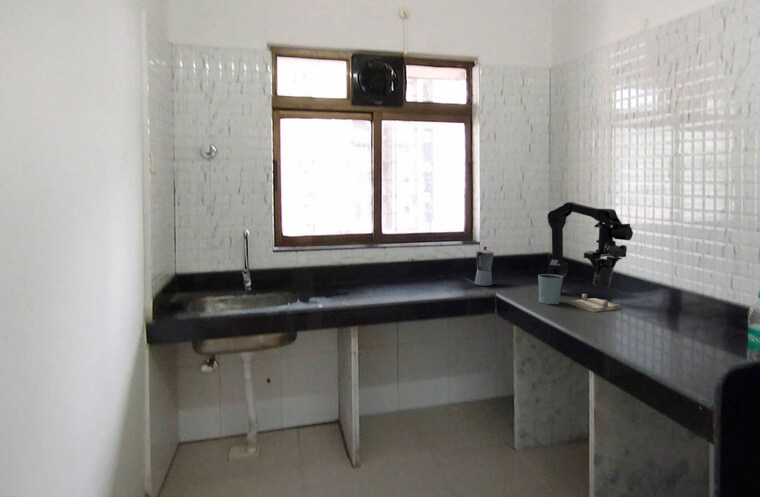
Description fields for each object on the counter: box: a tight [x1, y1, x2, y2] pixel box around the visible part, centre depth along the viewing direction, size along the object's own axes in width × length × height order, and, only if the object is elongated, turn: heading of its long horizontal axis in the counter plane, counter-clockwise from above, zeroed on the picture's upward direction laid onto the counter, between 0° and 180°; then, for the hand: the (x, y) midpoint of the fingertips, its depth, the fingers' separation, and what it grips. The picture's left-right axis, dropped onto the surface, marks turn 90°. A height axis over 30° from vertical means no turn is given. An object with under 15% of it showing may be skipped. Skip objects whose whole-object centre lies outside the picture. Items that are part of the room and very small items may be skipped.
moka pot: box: [474, 246, 494, 287], centre depth 256 cm, size 10×15×20 cm, turn 148°
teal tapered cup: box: [537, 273, 564, 305], centre depth 217 cm, size 10×10×12 cm
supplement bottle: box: [592, 257, 614, 289], centre depth 214 cm, size 7×7×12 cm
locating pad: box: [569, 293, 621, 313], centre depth 210 cm, size 14×14×4 cm
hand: (604, 273), depth 214 cm, fingers closed on supplement bottle, 7 cm apart
